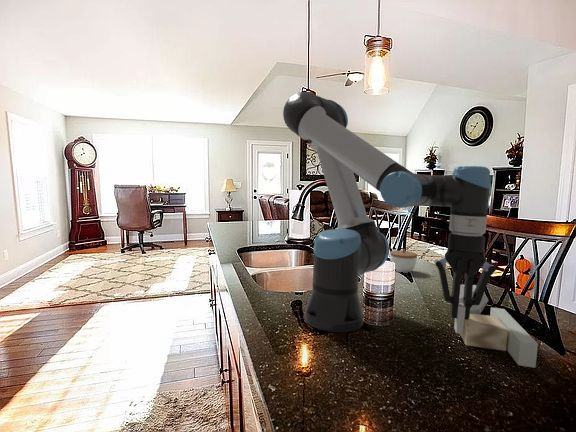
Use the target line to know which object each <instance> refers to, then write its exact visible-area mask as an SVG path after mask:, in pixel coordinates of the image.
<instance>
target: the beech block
mask: <svg viewBox="0 0 576 432" xmlns="http://www.w3.org/2000/svg"><path fill="white" fill-rule="evenodd" d="M459 335H460V337H461V339H462V341H463V343H464V344H465V346H469V347H470V346H471V347H476V348H481V349H482V348H484V349H488V350H490V349H491V350H496V351H497V350H498V351H503V352H506V351H507V349H506V345H507V335H508V330H507V328H506V327H505V326H504V325H503V324H502V323H501V322H500V321H499V320H498V318H497V317H496V316H490V315H489V314H486V315H485V314H471V313H470V317H469V319H468V320H466V319H465V320H464V332H463V334H459Z"/></svg>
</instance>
